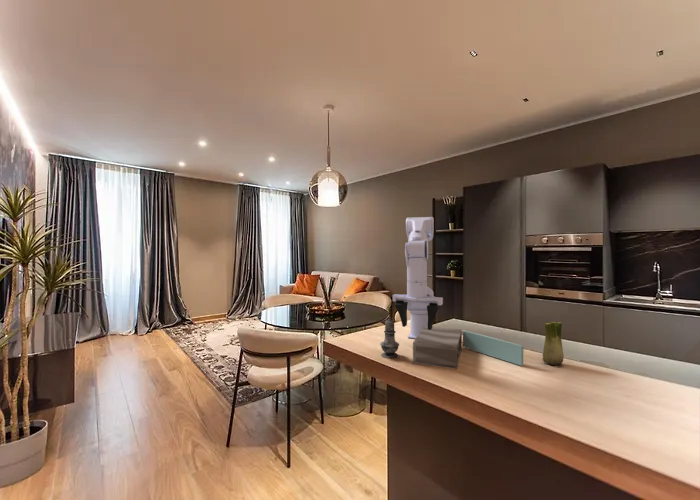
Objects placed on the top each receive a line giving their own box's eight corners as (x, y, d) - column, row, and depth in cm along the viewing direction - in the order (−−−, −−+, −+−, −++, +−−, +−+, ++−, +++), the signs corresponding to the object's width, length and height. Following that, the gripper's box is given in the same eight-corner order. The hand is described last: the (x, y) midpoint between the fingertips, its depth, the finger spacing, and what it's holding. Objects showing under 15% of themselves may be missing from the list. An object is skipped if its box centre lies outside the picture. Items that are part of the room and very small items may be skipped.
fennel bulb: (560, 361, 94) (560, 320, 94) (568, 367, 90) (569, 324, 89) (538, 360, 95) (538, 319, 95) (546, 366, 90) (546, 323, 90)
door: (462, 346, 107) (462, 330, 107) (466, 345, 108) (465, 329, 108) (521, 365, 91) (521, 346, 90) (525, 364, 92) (525, 345, 91)
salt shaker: (393, 360, 96) (393, 319, 96) (376, 356, 100) (376, 317, 100) (402, 354, 101) (402, 316, 101) (386, 351, 105) (386, 313, 104)
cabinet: (424, 343, 112) (424, 326, 112) (461, 347, 108) (461, 329, 107) (413, 363, 94) (412, 342, 94) (456, 369, 89) (456, 347, 89)
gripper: (388, 281, 95) (388, 327, 96) (438, 284, 88) (438, 333, 89) (397, 279, 102) (397, 322, 102) (444, 281, 95) (444, 327, 95)
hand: (417, 327), depth 96 cm, fingers open, 7 cm apart
